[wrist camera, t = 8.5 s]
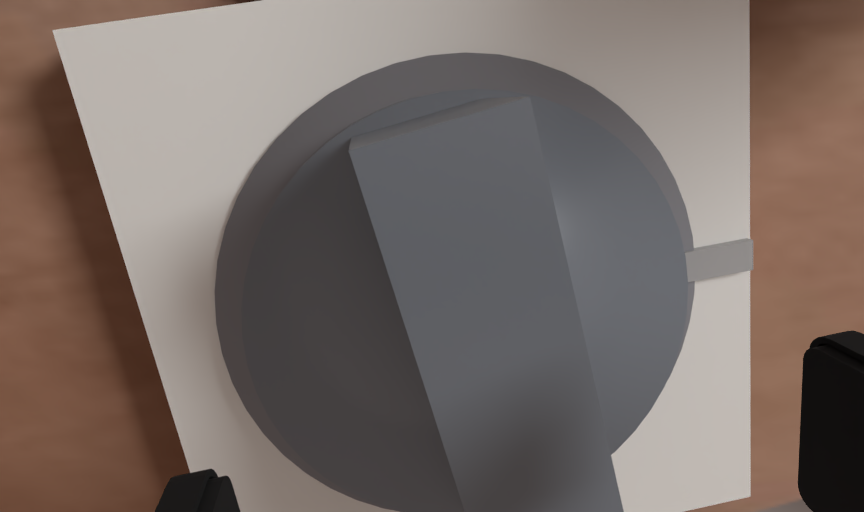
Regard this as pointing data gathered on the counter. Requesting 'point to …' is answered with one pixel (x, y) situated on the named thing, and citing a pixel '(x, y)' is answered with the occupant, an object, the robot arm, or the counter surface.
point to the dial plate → (361, 96)
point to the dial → (466, 305)
